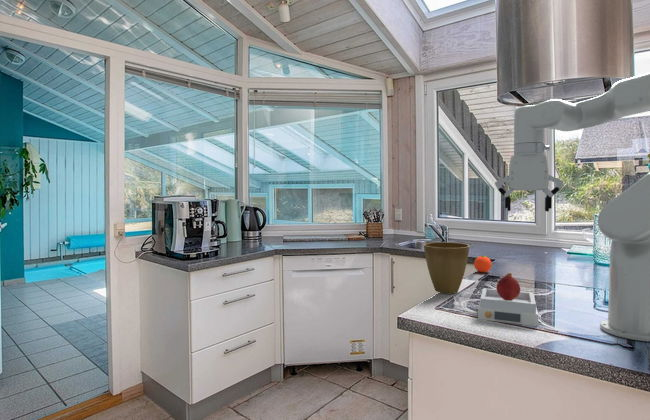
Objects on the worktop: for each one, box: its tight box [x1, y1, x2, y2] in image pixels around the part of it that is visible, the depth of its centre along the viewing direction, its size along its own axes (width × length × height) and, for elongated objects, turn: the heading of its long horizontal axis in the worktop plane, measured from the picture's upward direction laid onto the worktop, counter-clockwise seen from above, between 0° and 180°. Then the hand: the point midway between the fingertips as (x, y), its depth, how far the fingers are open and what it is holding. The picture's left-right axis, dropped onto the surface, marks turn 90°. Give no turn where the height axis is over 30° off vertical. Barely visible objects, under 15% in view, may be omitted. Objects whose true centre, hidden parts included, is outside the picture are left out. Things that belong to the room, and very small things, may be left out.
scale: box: [477, 287, 539, 327], centre depth 107 cm, size 14×14×5 cm
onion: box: [496, 272, 521, 301], centre depth 107 cm, size 6×6×8 cm
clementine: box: [473, 255, 493, 274], centre depth 168 cm, size 8×7×7 cm
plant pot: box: [423, 241, 470, 295], centre depth 134 cm, size 15×15×16 cm
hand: (527, 211), depth 112 cm, fingers open, 9 cm apart
